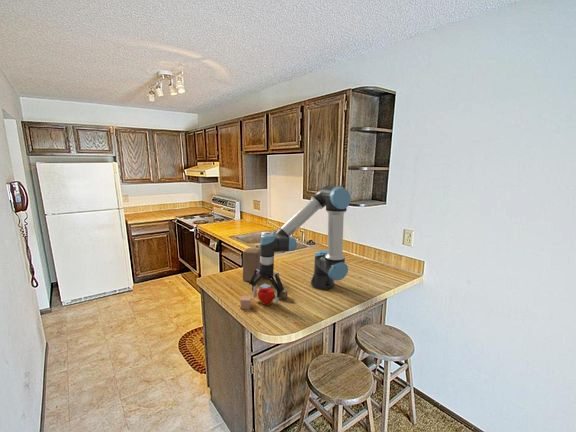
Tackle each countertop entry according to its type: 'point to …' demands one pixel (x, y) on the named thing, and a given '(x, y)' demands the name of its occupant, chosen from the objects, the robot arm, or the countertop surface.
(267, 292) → the apple
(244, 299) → the terracotta cube
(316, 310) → the countertop surface
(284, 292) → the walnut cube
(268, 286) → the slate-blue cube
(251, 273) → the wooden block
